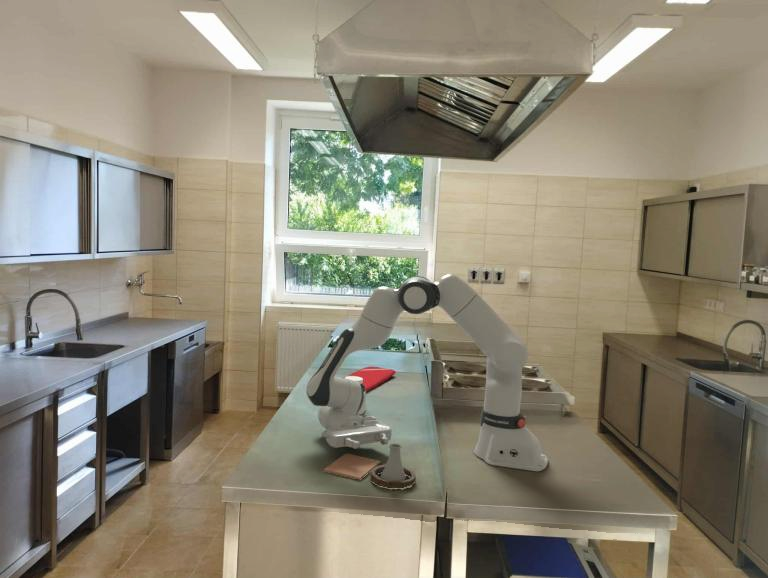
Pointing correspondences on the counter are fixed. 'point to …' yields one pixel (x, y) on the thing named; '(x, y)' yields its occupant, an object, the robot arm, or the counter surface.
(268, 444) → the counter surface
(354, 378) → the spread jar
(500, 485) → the counter surface
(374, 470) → the ring holder
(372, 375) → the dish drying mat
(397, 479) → the flask
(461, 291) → the robot arm
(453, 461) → the counter surface
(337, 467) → the terracotta pad
